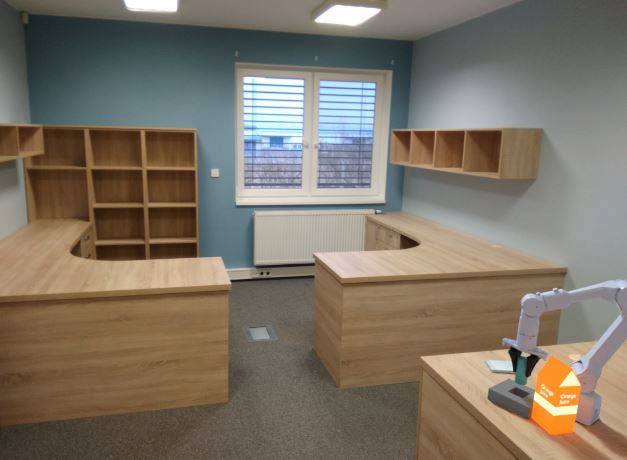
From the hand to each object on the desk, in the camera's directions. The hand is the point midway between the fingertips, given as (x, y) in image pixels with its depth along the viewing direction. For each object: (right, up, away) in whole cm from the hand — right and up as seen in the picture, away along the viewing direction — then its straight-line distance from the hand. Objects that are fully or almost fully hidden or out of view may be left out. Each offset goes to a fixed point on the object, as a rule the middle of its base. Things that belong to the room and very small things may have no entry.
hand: (521, 373), depth 159 cm
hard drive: (+4, -6, +26) cm, 27 cm away
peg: (0, -3, +1) cm, 3 cm away
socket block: (-1, -10, +2) cm, 10 cm away
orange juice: (+5, -13, -10) cm, 16 cm away
